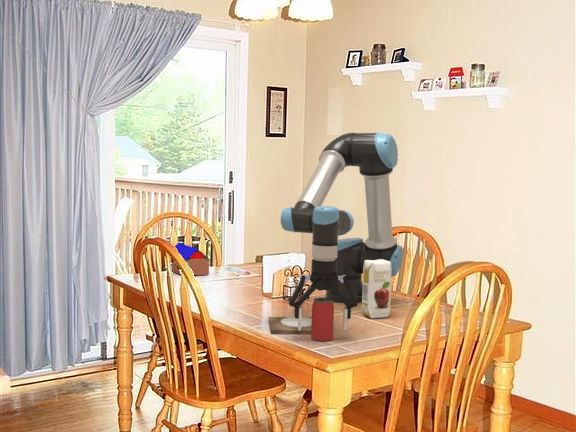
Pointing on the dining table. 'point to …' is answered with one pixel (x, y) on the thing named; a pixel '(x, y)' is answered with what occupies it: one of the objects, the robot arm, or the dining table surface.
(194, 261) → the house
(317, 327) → the beer can
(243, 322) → the dining table surface
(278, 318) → the walnut board
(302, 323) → the ceramic disc
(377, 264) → the juice carton
